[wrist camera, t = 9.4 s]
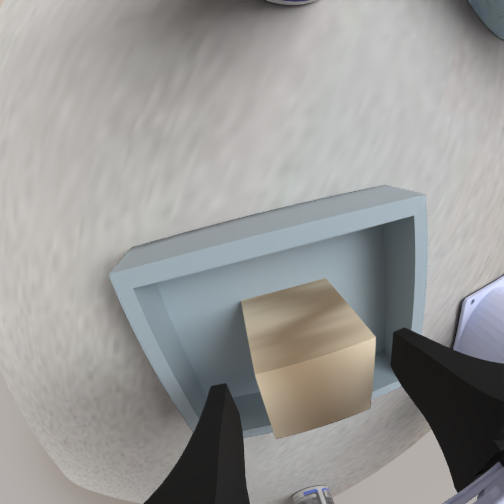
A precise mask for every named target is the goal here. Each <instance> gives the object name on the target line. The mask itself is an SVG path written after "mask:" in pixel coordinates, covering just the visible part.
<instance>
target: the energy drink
mask: <svg viewBox="0 0 504 504" xmlns="http://www.w3.org/2000/svg"><path fill="white" fill-rule="evenodd" d="M266 1H269V2H273V3H278V4H286V5H301V4H307V3H311V2H314V1H316V0H266Z"/></svg>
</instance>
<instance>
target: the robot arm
mask: <svg viewBox="0 0 504 504" xmlns="http://www.w3.org/2000/svg"><path fill="white" fill-rule="evenodd" d="M390 366H391V368H392V370H393V372H394V374H395V376H396V377H397V379H398V381H399V383H400V384H401V386H402V387H403V388H404V390H405V391H406V392H407V394H408V395H409V396H410V398H411V399H412V401H413V402H414V403H415V405H416V406H417V407H418V409H419V410H420V411H421V413H422V414H423V415H424V417H425V419H426V420H427V422H428V423H429V425H430V427H431V429H432V431H433V433H434V435H435V437H436V439H437V441H438V443H439V445H440V447H441V449H442V451H443V454H444V457H445V459H446V461H447V464H448V467H449V470H450V473H451V476H452V479H453V483H454V487H455V489H456V490H457V492H458V493H457V494H456V495H454V496H453V497H451V498H450V499H448V500H447V501H445V502H444V503H442V504H465V503H467V502H468V501H469V500H471V499H472V498H473V497H475V496H476V495H478V497H477V501H476V502H474V503H473V504H504V276H502V277H501V278H499V279H497V280H496V281H494V282H492V283H491V284H489V285H487V286H486V287H484V288H482V289H481V290H479V291H477V292H475V293H474V294H472V295H470V296H468V297H466V298H465V299H464V301H463V303H462V309H461V314H460V320H459V325H458V329H457V334H456V339H455V343H454V347H453V349H450V348H448V347H446V346H443V345H441V344H439V343H437V342H435V341H432V340H430V339H428V338H426V337H424V336H422V335H420V334H418V333H416V332H414V331H412V330H409V329H407V328H405V327H404V328H402V329H399V330H397V331H395V332H393V341H392V353H391V363H390ZM144 504H250V502H249V497H248V492H247V486H246V478H245V461H244V443H243V431H242V425H241V419H240V414H239V411H238V409H237V406H236V404H235V402H234V400H233V397H232V395H231V393H230V391H229V388H228V386H227V384H226V383H224V384H219V385H213V386H211V387H210V389H209V393H208V396H207V399H206V402H205V405H204V408H203V411H202V413H201V416H200V418H199V421H198V423H197V426H196V428H195V430H194V432H193V435H192V437H191V439H190V441H189V443H188V445H187V447H186V449H185V450H184V452H183V454H182V456H181V457H180V459H179V460H178V462H177V464H176V465H175V467H174V468H173V470H172V471H171V472H170V474H169V475H168V477H167V478H166V479H165V480H164V482H163V483H162V484H161V485H160V486H159V488H158V489H157V490H156V491H155V492H154V493H153V494H152V495H151V496H150V498H149V499H148V500H147V501H146V502H145V503H144Z"/></svg>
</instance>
